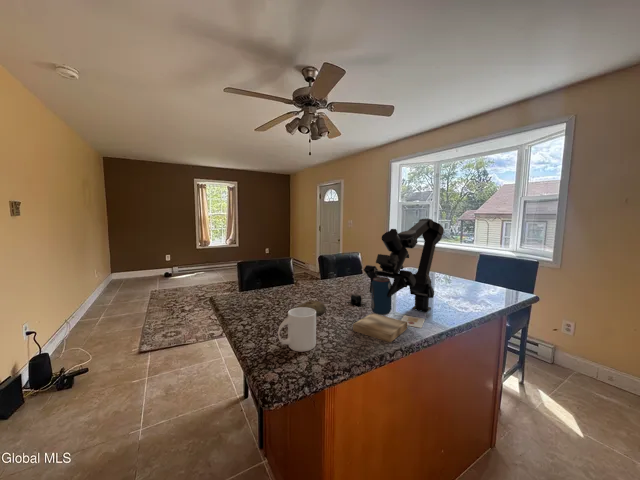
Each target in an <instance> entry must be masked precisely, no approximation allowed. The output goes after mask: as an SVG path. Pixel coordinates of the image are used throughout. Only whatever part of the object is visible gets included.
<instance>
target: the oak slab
mask: <svg viewBox="0 0 640 480" xmlns="http://www.w3.org/2000/svg"><path fill="white" fill-rule="evenodd" d="M407 329H408V326H407V322H405V321H401V319H396V318H393V317H390V316H386V315H378V314H375V313H370V314H368V315H366V316H365V317H363V318H361V319H360V320H358V321H356V322H354V323H353V325H352V331H353V332H356V333H359V334H362V335H366V336H368V337H371V338H375V339H378V340H381V341H384V342H387V343H392V342H393V341H394V340H395V339H397V338H398V337H399V336H401V335H402V334H403V333H404V332H406V330H407Z"/></svg>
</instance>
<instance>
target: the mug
mask: <svg viewBox="0 0 640 480" xmlns="http://www.w3.org/2000/svg"><path fill="white" fill-rule="evenodd" d="M285 326H287V338H286V339H283V338H282V337H281V335H280V332H281V330H282V328H283V327H285ZM277 331H278V332H277V333H278V335H277V337H278V339H279V341H280V343H281V344H283V345H285V346H286V345H287V346H288V347H289V348H290V349H291V350H292V351H294V352H300V353H301V352H309V351H312V350H313V349H314V348H315V347H316V344H317V316H316V311H315V310H314V309H312V308H307V307H299V308H296V307H295V308H291V309H289V310H288V311H287V318H285V319H284V320H283V321H282V322H281V323H280V325H279V327H278V329H277Z"/></svg>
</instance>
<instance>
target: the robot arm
mask: <svg viewBox="0 0 640 480" xmlns="http://www.w3.org/2000/svg"><path fill="white" fill-rule="evenodd" d="M444 231H445V229H444V227H443V225H441V224H440V223H439V222H435V221H434V220H433V219H431V218H420V219H419V220H418V222H417V223H415V224H414V225H413V226H412V227H410V228H409V229H408V230H404V231H401V232H398V230H397V229H396V228H390V230H388V231H386V232H385V233H383V234H382V235H381V241H382V243H383V244H384V246H385V248H386V249H387V251H388V252H389V253H390V254H389V255H388V254H382V253H380V254H379V253H378V254H377V257H376V259H375V260H376V261H375V264H378V265H379V269H380V270H379V269H378V268H377V266H376V265H371V264H370V265H369V264H367V265H365V266H364V268H363V272H364V273H365V274H366V276H367V277H368V278H369V279H370V283H369V284H370V286H369V293H370V294H371V284H372V281H373V278H376V277H384V278H389V279H393V281H392V283H391V284H392V286H391V288H390V290H389V292H388V295H387V296H388V297H391V298H392V296H393V295H395V294H396V293H397V292H399V291H401V290H403V289H405V288H408V287H409V293H410V295H411V296H414V306H412V308H411V310H414V311H418V312H424V313H427V312H429V311H430V310H432V307H431V306H429V305H430V302H429V301H430V300H429V299H434V296H435V290H434V288H433V286H432V279H431V277H430V271H431V267H432V263H433V258H434V254H435V249H436V246H437V244H439V242H440V241H441V240H442V237H443V236H444V233H445V232H444ZM421 236H422V239H423V241H424V242H423V248H422V251H421V255H420V260H419V264H418V268H417V271H416V272H415V273H413V272H412V271H410V270H404V266H403V264H404V262H406V261H405V260H406V259H410V254H409V251H408V249H414V248H415V247H416V245H417V244H418V238H420V237H421Z"/></svg>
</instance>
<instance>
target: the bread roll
mask: <svg viewBox="0 0 640 480" xmlns="http://www.w3.org/2000/svg"><path fill="white" fill-rule="evenodd" d="M299 307H307V308H312V309H314V310H315V311H316V317H320V316H321V315H324V314H325V313H326V312H327V307H326V305H325V304H324V303H322V302H320V301H318V300H314V299H312V300H309V301H306V302H304V303H301V304H299V305H297V306H296V307H295V308H299Z"/></svg>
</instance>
